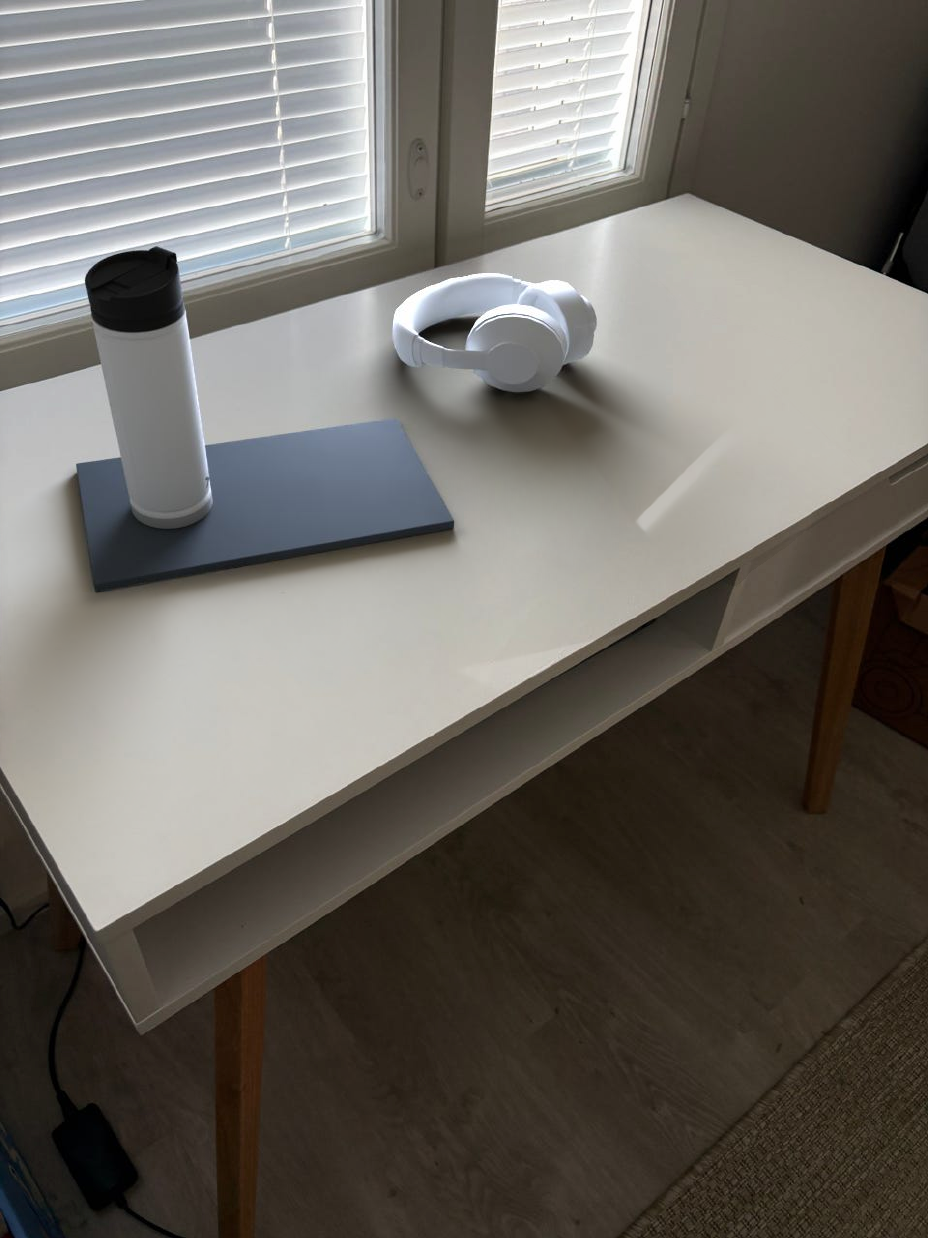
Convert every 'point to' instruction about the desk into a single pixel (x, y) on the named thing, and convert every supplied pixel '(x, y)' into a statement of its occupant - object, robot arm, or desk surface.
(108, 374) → the travel mug
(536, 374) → the headphones
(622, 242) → the desk surface
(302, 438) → the mat
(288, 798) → the desk surface
